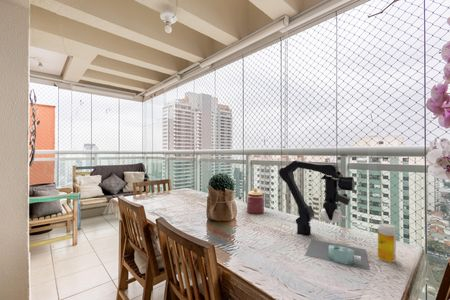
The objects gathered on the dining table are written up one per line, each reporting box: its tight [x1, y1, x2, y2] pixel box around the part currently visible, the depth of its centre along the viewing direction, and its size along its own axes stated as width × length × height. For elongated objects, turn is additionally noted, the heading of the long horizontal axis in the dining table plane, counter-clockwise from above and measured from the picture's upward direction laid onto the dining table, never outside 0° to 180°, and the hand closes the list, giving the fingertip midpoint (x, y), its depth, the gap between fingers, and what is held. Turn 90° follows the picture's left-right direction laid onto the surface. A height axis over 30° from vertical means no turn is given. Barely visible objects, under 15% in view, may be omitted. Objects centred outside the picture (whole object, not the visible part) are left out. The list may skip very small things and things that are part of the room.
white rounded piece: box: [320, 208, 348, 224], centre depth 112 cm, size 12×4×5 cm, turn 61°
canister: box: [246, 188, 265, 215], centre depth 165 cm, size 13×13×18 cm
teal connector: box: [329, 245, 361, 266], centre depth 92 cm, size 12×4×5 cm, turn 61°
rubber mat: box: [304, 239, 371, 271], centre depth 99 cm, size 24×20×1 cm
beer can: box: [377, 222, 397, 263], centre depth 94 cm, size 6×6×15 cm
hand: (331, 218), depth 113 cm, fingers closed on white rounded piece, 4 cm apart
